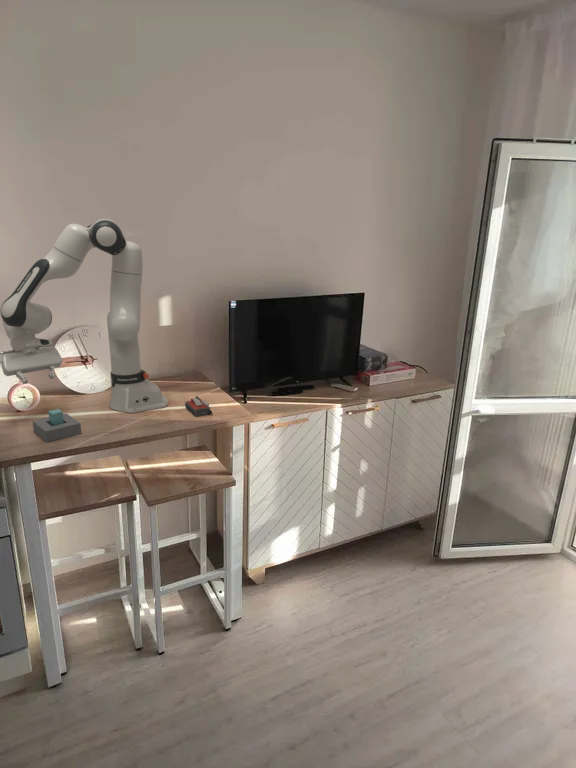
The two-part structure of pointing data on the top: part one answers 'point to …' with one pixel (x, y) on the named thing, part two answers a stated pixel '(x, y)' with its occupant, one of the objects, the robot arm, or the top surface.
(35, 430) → the socket
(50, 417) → the plug
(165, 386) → the top surface
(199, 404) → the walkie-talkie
